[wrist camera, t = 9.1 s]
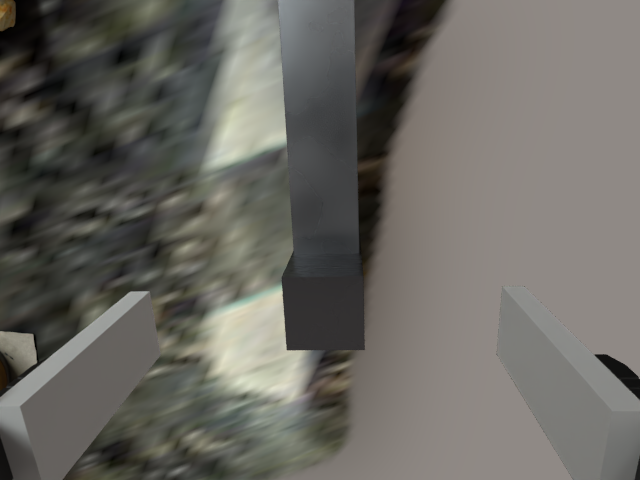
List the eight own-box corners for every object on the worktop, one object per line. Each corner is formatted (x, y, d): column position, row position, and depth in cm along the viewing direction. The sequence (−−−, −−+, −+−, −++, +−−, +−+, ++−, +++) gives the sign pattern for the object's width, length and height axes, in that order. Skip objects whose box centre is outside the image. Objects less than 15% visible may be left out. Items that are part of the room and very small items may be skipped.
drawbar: (280, -187, 19) (233, -396, 11) (350, -195, 19) (351, -413, 11) (306, 281, 25) (286, 350, 17) (360, 280, 25) (364, 349, 17)
